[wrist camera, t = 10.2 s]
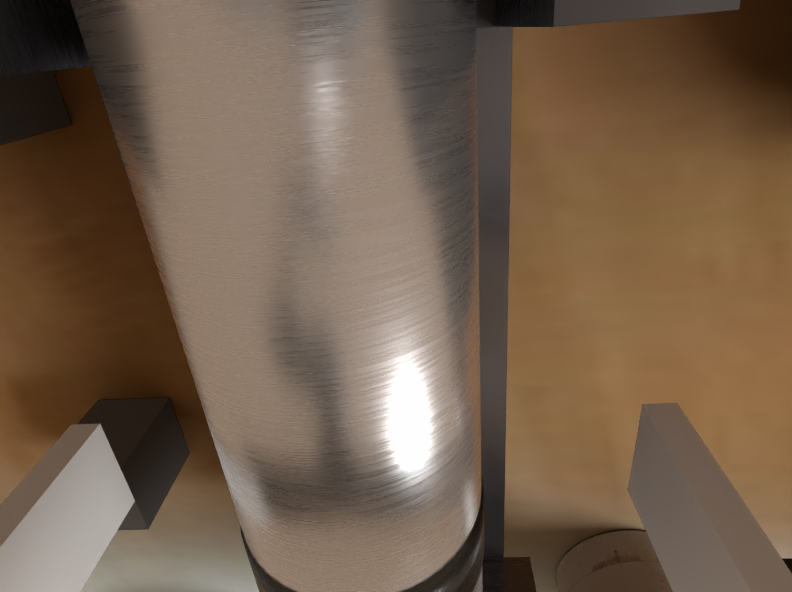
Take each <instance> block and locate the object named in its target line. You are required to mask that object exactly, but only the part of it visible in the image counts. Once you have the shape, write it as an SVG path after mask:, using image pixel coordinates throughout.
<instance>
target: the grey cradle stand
mask: <svg viewBox="0 0 792 592" xmlns="http://www.w3.org/2000/svg"><path fill="white" fill-rule="evenodd" d="M740 1H741V0H476V58H477V146H478V234H479V322H480V410H481V476H482V479H483V488H484V558H483V563H482V585H483V592H536V587H535V582H534V577H533V573H532V568H531V563H530V558H529V557H509V558H503V551H504V494H505V436H506V379H507V321H508V264H509V206H510V149H511V92H512V34H513V27H557V26H568V25H579V24H589V23H600V22H611V21H622V20H633V19H643V18H654V17H665V16H676V15H686V14H697V13H708V12H719V11H730V10H739V7H740ZM86 66H92V65H91V62H90V59H89V56H88V53H87V50H86V47H85V44H84V41H83V38H82V35H81V32H80V28H79V25H78V22H77V19H76V16H75V13H74V10H73V7H72V4H71V1H70V0H0V77H2V76H10V75H18V74H27V73H35V72H44V71H52V70H60V69H69V68H77V67H86Z"/></svg>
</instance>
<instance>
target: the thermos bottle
mask: <svg viewBox="0 0 792 592" xmlns="http://www.w3.org/2000/svg"><path fill="white" fill-rule="evenodd" d="M556 581H557V585H558V589H559V592H673V591H672V589H671V586H670V584H669V582H668V579H667V577H666V575H665V573H664V570H663V568H662V566H661V564H660V561H659V559H658V557H657V555H656V552H655V550H654V548H653V546H652V543H651V541H650V539H649V536H648V534H647V532H646V531H637V530H621V531H614V532H607V533H604V534H600V535H597V536H594V537H592V538H589V539H587V540H585V541H583V542H581V543H579V544H578V545H576V546H575V547H573V548H572V549H571V550H570V551H569V552H568V553H567V554H565V556H564V557H563V559H562V560H561V561H560V563H559V566H558V568H557V574H556Z"/></svg>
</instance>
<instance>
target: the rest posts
mask: <svg viewBox="0 0 792 592" xmlns="http://www.w3.org/2000/svg"><path fill="white" fill-rule="evenodd" d="M70 125H72V124H71V121H70V118H69V115H68V112H67V110H66V107H65V104H64V101H63V98H62V96H61V93H60V90H59V87H58V84H57V82H56V79H55V76H54V73H53V70H52V71H44V72H35V73H27V74H18V75H10V76H2V77H0V145H2V144H6V143H9V142H13V141H17V140H20V139H24V138H27V137H31V136H34V135H38V134H41V133H45V132H49V131H52V130H56V129H59V128H63V127H66V126H70ZM78 424H101V427H102V429H103V431H104V433H105V435H106V438H107V440H108V442H109V444H110V447H111V449H112V451H113V453H114V455H115V458H116V460H117V462H118V464H119V467H120V469H121V471H122V473H123V475H124V478H125V480H126V482H127V484H128V486H129V489H130V491H131V493H132V495H133V498H134V500H135V502H134V503H133V505H132V507H131V508H130V510H129V512H128V513H127V515H126V517H125V518H124V520H123V522H122V523H121V525H120V527H119V528H118V530H142V529H149V527H150V525H151V523H152V521H153V520H154V518H155V516H156V514H157V512H158V510H159V509H160V507H161V505H162V503H163V501H164V499H165V498H166V496H167V494H168V492H169V490H170V488H171V487H172V485H173V483H174V481H175V479H176V477H177V476H178V474H179V472H180V470H181V468H182V466H183V464H184V463H185V461H186V459H187V457H188V455H189V451H188V448H187V445H186V442H185V439H184V437H183V434H182V431H181V428H180V425H179V423H178V420H177V417H176V414H175V412H174V409H173V406H172V403H171V400H170V398H143V399H118V400H98V401H97V402H96V403H95V404H94V406H93V407H92V408H91V409H90V410H89V411H88V413H87V414H86V415H85V416H84V417H83V418H82V419H81V421H80V422H79V423H78Z"/></svg>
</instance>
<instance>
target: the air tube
mask: <svg viewBox="0 0 792 592" xmlns="http://www.w3.org/2000/svg"><path fill="white" fill-rule="evenodd" d="M70 1H71V4H72V7H73V10H74V13H75V16H76V19H77V22H78V25H79V28H80V32H81V35H82V38H83V41H84V44H85V47H86V50H87V53H88V56H89V59H90V62H91V65H92V69H93V72H94V75H95V78H96V81H97V84H98V87H99V90H100V93H101V96H102V99H103V102H104V106H105V109H106V112H107V115H108V118H109V121H110V124H111V127H112V130H113V133H114V136H115V139H116V142H117V146H118V149H119V152H120V155H121V158H122V161H123V164H124V167H125V170H126V173H127V176H128V179H129V183H130V186H131V189H132V192H133V195H134V198H135V201H136V204H137V207H138V210H139V213H140V216H141V220H142V223H143V226H144V229H145V232H146V235H147V238H148V241H149V244H150V247H151V250H152V253H153V256H154V260H155V263H156V266H157V269H158V272H159V275H160V278H161V281H162V284H163V287H164V290H165V293H166V297H167V300H168V303H169V306H170V309H171V312H172V315H173V318H174V321H175V324H176V327H177V330H178V334H179V337H180V340H181V343H182V346H183V349H184V352H185V355H186V358H187V361H188V364H189V367H190V370H191V374H192V377H193V380H194V383H195V386H196V389H197V392H198V395H199V398H200V401H201V404H202V407H203V411H204V414H205V417H206V420H207V423H208V426H209V429H210V432H211V435H212V438H213V441H214V444H215V448H216V451H217V454H218V457H219V460H220V463H221V466H222V469H223V472H224V475H225V478H226V481H227V484H228V488H229V491H230V494H231V497H232V500H233V503H234V506H235V509H236V512H237V515H238V518H239V521H240V526H241V535H242V538H243V542H244V546H245V549H246V552H247V555H248V558H249V561H250V564H251V567H252V570H253V573H254V576H255V580H256V583H257V586H258V589H259V592H483V585H482V563H483V558H484V488H483V479H482V476H481V410H480V322H479V234H478V146H477V58H476V0H70Z"/></svg>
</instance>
